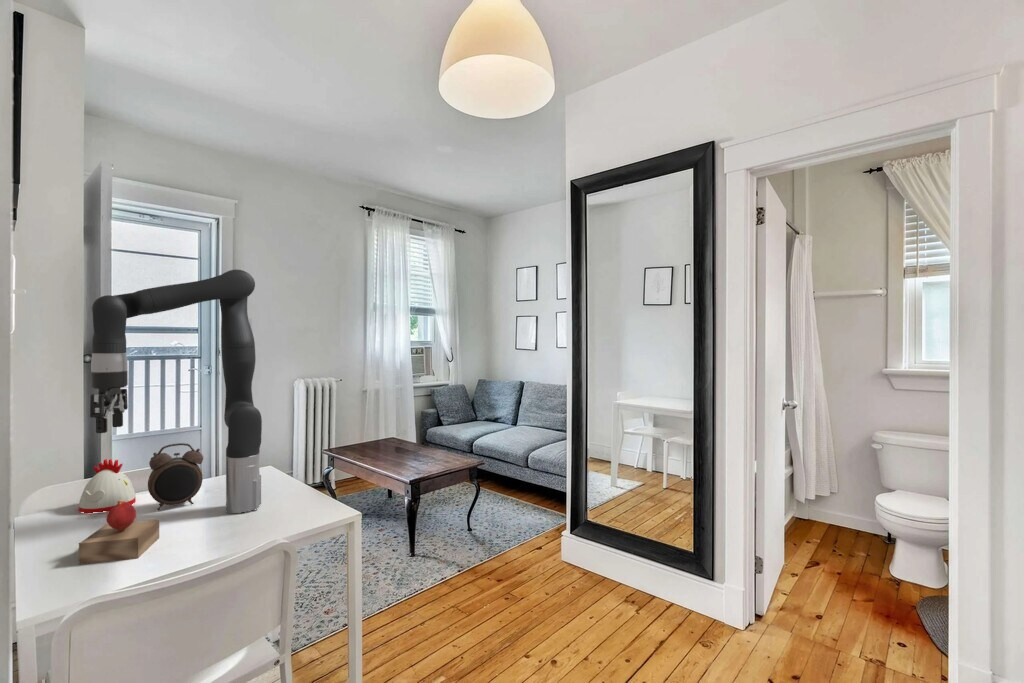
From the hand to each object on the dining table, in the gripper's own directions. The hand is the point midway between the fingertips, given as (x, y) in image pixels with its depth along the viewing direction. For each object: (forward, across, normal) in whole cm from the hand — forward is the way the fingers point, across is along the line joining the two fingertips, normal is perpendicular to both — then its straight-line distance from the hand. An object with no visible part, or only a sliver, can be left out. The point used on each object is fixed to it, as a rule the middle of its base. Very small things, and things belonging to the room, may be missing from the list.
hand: (110, 429), depth 128 cm
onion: (+24, -10, -7) cm, 27 cm away
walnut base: (+29, -10, -6) cm, 32 cm away
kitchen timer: (+30, +28, +12) cm, 43 cm away
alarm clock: (+30, +22, -8) cm, 38 cm away
